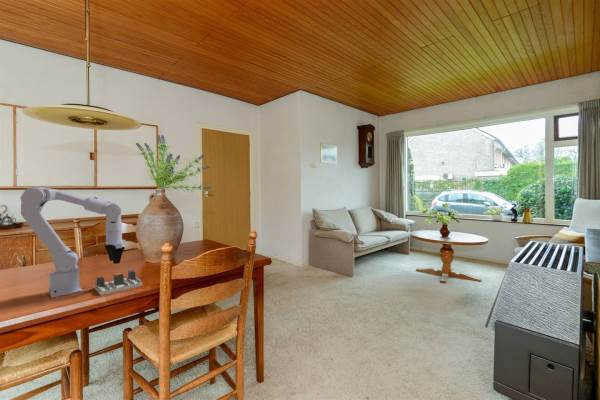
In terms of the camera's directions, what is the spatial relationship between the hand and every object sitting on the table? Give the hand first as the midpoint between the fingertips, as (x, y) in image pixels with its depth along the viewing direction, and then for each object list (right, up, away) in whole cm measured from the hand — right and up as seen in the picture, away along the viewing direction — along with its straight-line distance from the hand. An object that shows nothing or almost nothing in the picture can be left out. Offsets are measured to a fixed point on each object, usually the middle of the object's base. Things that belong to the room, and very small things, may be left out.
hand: (114, 261), depth 121 cm
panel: (+3, -10, -3) cm, 11 cm away
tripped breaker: (+4, -9, -3) cm, 10 cm away
